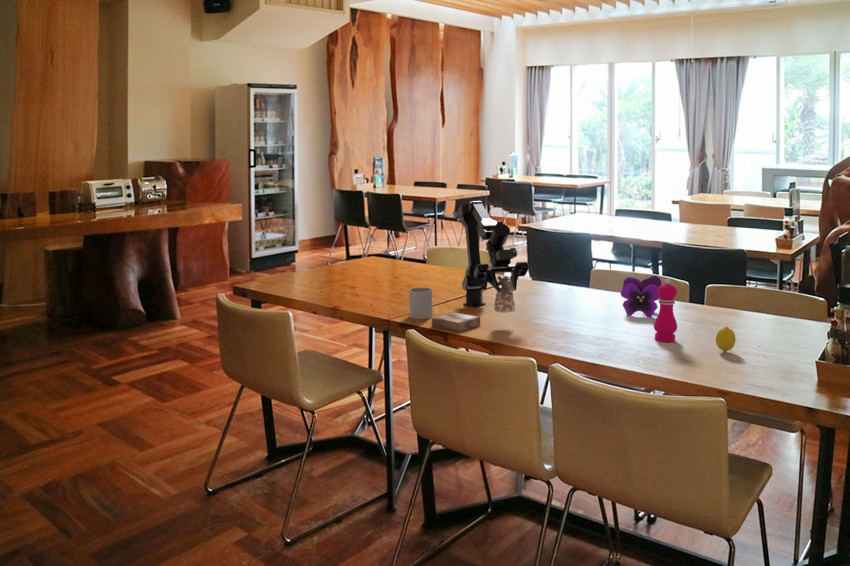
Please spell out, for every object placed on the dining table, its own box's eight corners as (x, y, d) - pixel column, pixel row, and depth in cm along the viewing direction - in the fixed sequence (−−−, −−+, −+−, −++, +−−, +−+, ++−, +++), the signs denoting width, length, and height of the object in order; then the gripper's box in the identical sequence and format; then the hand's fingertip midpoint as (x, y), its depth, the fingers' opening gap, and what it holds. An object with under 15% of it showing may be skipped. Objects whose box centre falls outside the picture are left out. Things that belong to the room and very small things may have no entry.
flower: (621, 322, 292) (617, 313, 280) (625, 284, 296) (621, 273, 283) (661, 325, 286) (659, 316, 274) (665, 287, 290) (663, 276, 278)
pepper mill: (649, 337, 251) (652, 277, 247) (671, 336, 252) (674, 276, 248) (658, 343, 244) (661, 281, 240) (680, 342, 245) (683, 280, 241)
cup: (429, 319, 279) (429, 292, 277) (407, 318, 280) (407, 291, 278) (434, 314, 287) (433, 287, 285) (412, 313, 288) (412, 287, 286)
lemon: (717, 348, 237) (719, 323, 236) (736, 351, 234) (738, 326, 233) (712, 353, 233) (714, 327, 231) (732, 355, 230) (733, 330, 228)
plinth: (453, 320, 277) (453, 311, 277) (480, 325, 269) (480, 316, 269) (431, 326, 268) (431, 317, 268) (458, 332, 261) (458, 323, 260)
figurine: (509, 313, 261) (509, 279, 259) (490, 311, 265) (490, 276, 263) (518, 309, 267) (518, 275, 265) (500, 306, 271) (500, 273, 269)
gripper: (476, 241, 263) (486, 279, 255) (527, 238, 267) (539, 275, 259) (469, 260, 272) (479, 297, 264) (519, 257, 276) (530, 293, 268)
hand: (507, 290), depth 263 cm, fingers closed on figurine, 6 cm apart
